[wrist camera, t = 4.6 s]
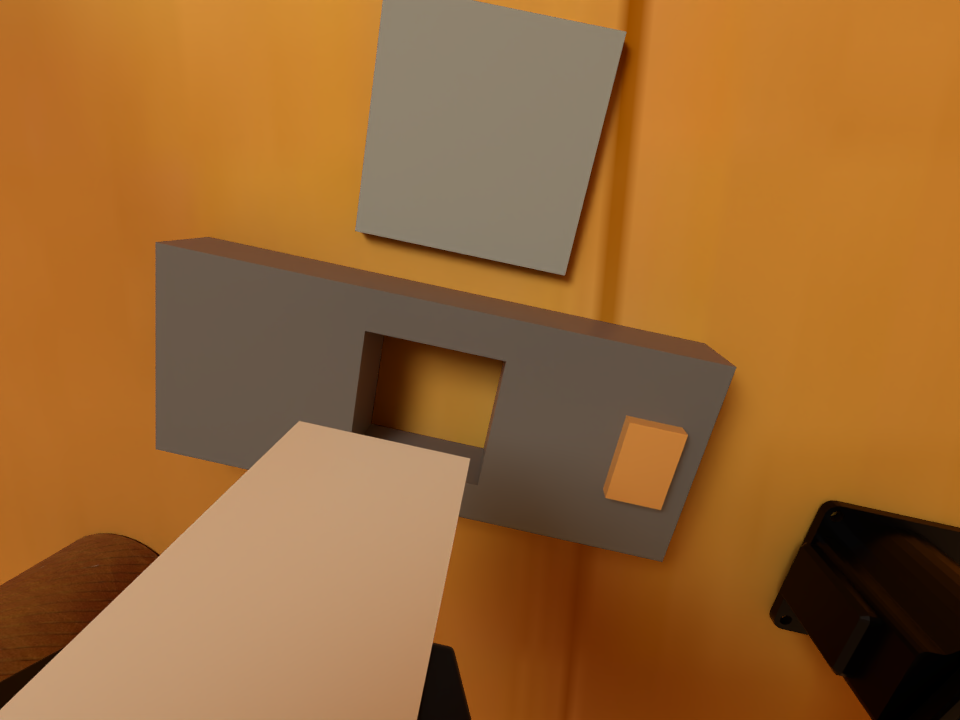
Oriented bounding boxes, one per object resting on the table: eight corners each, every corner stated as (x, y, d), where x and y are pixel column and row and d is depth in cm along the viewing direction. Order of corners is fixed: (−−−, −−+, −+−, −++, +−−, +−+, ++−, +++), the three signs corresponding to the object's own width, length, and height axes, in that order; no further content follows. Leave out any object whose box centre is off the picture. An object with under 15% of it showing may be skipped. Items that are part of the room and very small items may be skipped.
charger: (470, 458, 11) (356, 1019, 4) (439, 597, 13) (305, 1240, 5) (299, 420, 11) (-185, 888, 4) (285, 562, 13) (-98, 1141, 5)
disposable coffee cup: (11, 497, 24) (-438, 753, 13) (197, 511, 24) (-103, 793, 12) (55, 649, 27) (-283, 969, 16) (222, 665, 27) (-3, 1012, 15)
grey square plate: (622, 37, 17) (626, 31, 16) (563, 273, 19) (564, 275, 19) (389, -10, 17) (385, -18, 16) (360, 230, 19) (355, 230, 19)
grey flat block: (704, 343, 19) (744, 372, 16) (643, 515, 22) (666, 572, 18) (208, 237, 20) (143, 243, 16) (202, 417, 22) (144, 456, 19)
